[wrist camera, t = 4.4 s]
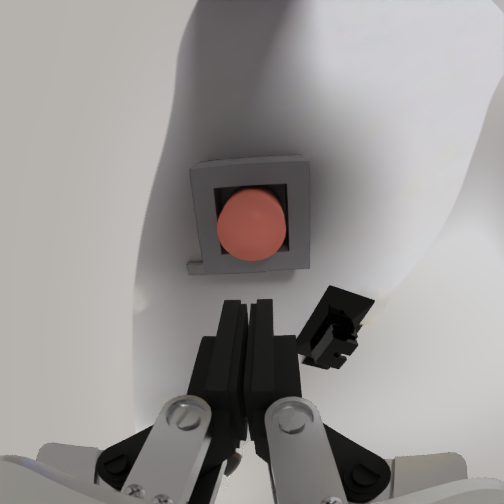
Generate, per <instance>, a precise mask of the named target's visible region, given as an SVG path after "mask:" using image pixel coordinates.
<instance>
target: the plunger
mask: <svg viewBox="0 0 504 504" xmlns="http://www.w3.org/2000/svg"><path fill="white" fill-rule="evenodd" d="M217 234H218V238H219V240H220V242H221V244H222V246H223V247H224V248H225V250H226V251H227V252H229V253H230V254H231V255H233V256H234V257H236V258H239V259H241V260H246V261H259V260H263V259H265V258H268V257H270V256H271V255H273V254H274V253H275V252H276V251H277V250H278V249H279V248H280V247H281V245H282V243H283V241H284V238H285V234H286V224H285V219H284V213H283V208H282V203H281V201H280V199H279V197H278V196H277V194H276V193H275V192H274V191H273V190H272V189H270V188H268V187H267V186H264V185H250V186H241V187H239V188H237V189H236V190H235V191H234V192H233V193H232V194H231V195H230V196H229V198H228V200H227V202H226V204H225V206H224V208H223V210H222V212H221V214H220V216H219V219H218V223H217Z"/></svg>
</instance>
